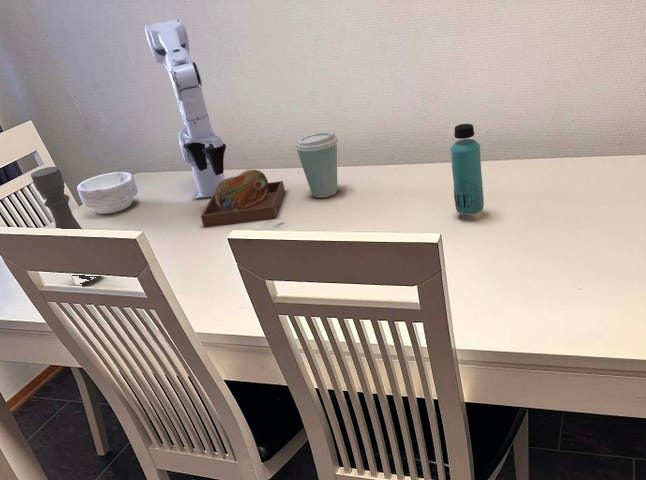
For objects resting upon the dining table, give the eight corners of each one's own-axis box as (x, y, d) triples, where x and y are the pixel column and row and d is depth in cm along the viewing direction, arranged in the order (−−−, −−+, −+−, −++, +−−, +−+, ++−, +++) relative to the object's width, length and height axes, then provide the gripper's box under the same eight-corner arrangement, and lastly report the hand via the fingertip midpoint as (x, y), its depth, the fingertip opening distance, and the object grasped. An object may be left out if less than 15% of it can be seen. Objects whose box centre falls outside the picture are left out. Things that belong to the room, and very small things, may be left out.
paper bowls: (152, 197, 199) (143, 170, 195) (116, 219, 188) (106, 191, 184) (112, 196, 206) (102, 170, 201) (75, 217, 195) (64, 190, 190)
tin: (224, 218, 176) (215, 185, 172) (217, 215, 178) (208, 183, 174) (272, 197, 184) (264, 165, 179) (265, 195, 186) (257, 164, 182)
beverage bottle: (487, 209, 158) (482, 119, 147) (481, 221, 153) (476, 129, 142) (458, 209, 161) (452, 121, 150) (452, 221, 156) (444, 131, 145)
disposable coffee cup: (298, 201, 180) (286, 142, 172) (316, 185, 188) (305, 129, 180) (335, 201, 176) (325, 141, 168) (352, 185, 184) (342, 127, 176)
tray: (219, 200, 190) (216, 189, 188) (285, 191, 188) (282, 180, 186) (203, 227, 175) (200, 215, 173) (275, 218, 173) (272, 206, 171)
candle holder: (78, 275, 160) (34, 169, 147) (105, 271, 160) (63, 164, 147) (71, 288, 155) (25, 178, 142) (99, 283, 155) (55, 173, 142)
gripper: (167, 119, 172) (183, 172, 180) (198, 125, 163) (213, 181, 170) (191, 110, 176) (206, 163, 183) (223, 116, 166) (237, 171, 174)
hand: (211, 171), depth 177 cm, fingers open, 7 cm apart
